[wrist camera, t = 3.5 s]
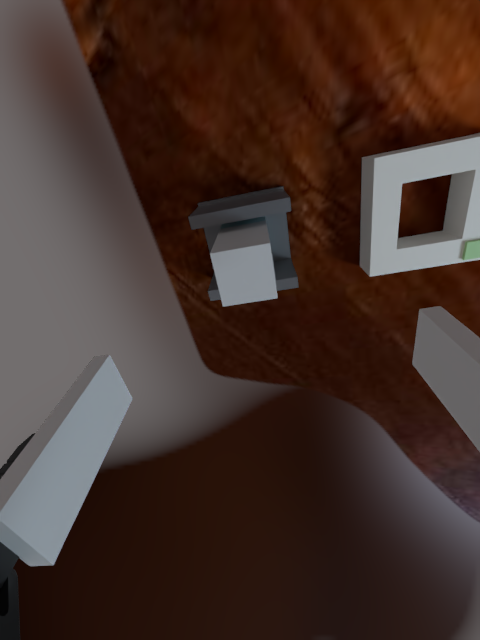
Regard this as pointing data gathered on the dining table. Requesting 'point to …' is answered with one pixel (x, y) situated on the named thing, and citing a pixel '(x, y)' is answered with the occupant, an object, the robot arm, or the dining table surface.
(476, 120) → the dining table surface
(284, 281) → the holster
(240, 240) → the plug
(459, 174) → the frame
